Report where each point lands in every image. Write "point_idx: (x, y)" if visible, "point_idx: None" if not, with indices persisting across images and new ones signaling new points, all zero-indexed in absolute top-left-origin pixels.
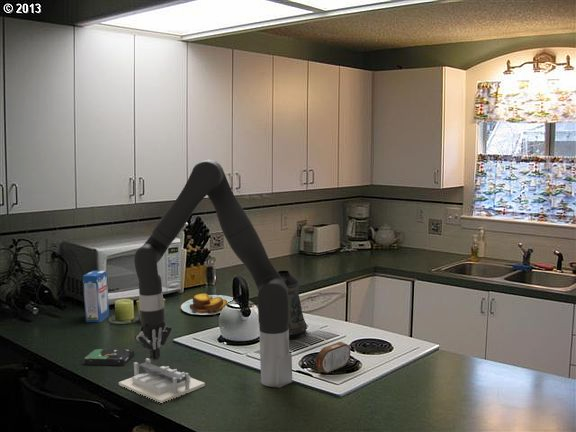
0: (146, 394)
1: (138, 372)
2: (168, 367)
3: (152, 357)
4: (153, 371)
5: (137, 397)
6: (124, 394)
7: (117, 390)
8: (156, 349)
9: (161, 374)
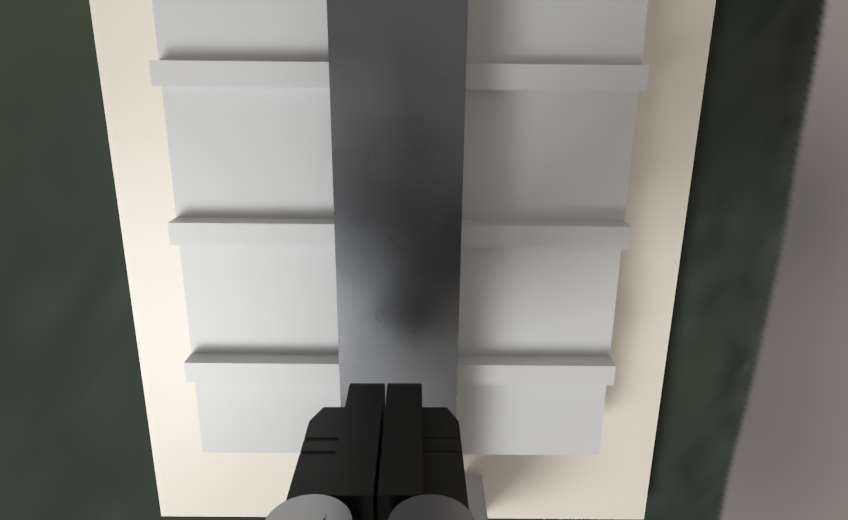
0: (704, 82)
1: (469, 508)
2: (197, 359)
3: (459, 432)
4: (458, 318)
5: (734, 159)
6: (747, 311)
7: (717, 425)
8: (380, 492)
9: (463, 153)
